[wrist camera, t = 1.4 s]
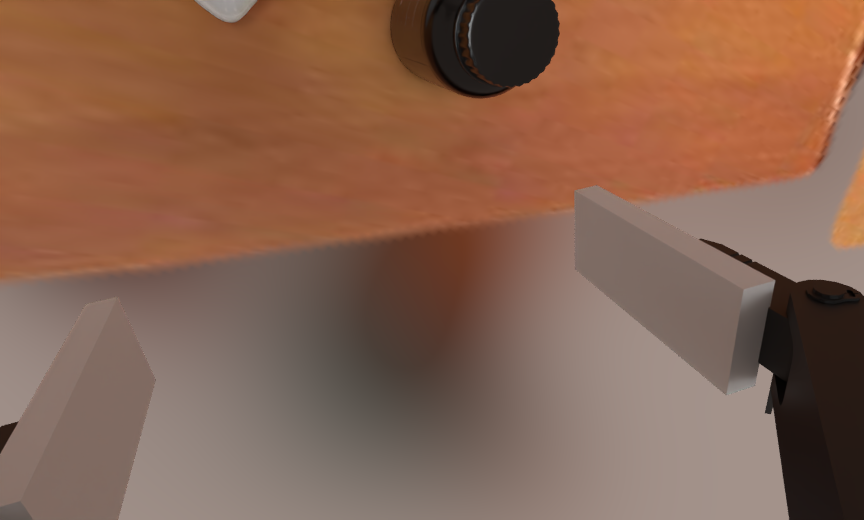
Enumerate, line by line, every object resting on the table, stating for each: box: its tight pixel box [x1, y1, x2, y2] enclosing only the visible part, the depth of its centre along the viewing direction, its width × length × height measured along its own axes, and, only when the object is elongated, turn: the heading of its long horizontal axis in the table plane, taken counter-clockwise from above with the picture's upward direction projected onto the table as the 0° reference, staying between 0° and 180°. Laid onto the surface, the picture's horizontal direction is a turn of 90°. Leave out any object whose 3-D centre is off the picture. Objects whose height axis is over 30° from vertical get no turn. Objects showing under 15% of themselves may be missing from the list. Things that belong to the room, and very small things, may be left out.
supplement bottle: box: [391, 0, 560, 98], centre depth 30 cm, size 7×7×12 cm
